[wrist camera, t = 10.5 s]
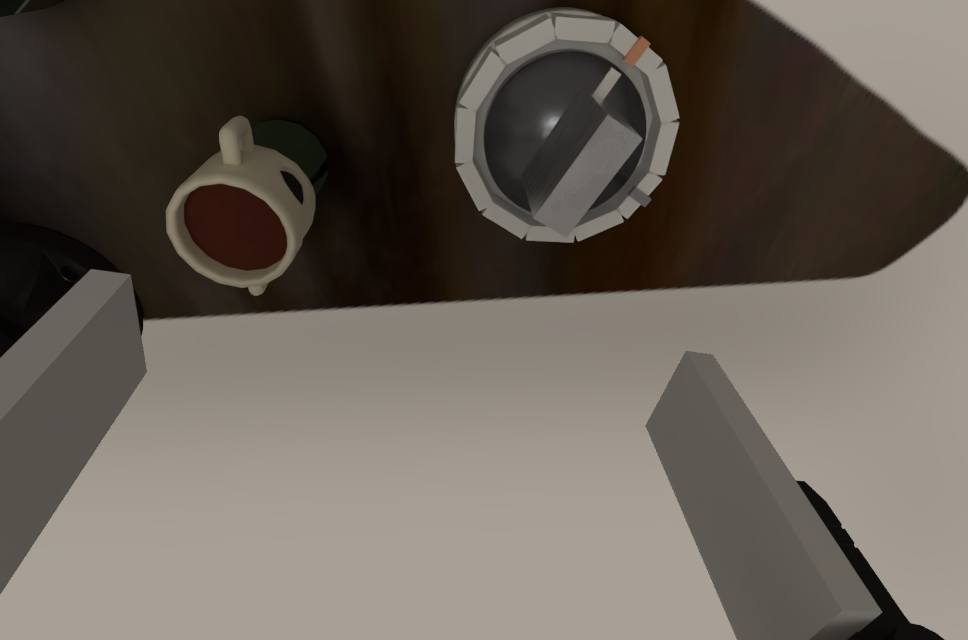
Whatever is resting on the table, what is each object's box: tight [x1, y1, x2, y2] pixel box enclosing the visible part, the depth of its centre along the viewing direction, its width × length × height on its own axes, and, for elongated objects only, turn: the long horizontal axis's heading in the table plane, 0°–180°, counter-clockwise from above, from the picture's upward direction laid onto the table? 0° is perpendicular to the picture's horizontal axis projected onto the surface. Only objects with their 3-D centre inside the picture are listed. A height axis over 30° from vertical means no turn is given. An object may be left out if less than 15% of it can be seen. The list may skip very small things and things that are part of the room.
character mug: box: [166, 116, 328, 296], centre depth 36 cm, size 11×7×13 cm, turn 175°
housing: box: [454, 7, 680, 243], centre depth 39 cm, size 15×15×5 cm
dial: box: [483, 49, 646, 238], centre depth 35 cm, size 11×11×8 cm
